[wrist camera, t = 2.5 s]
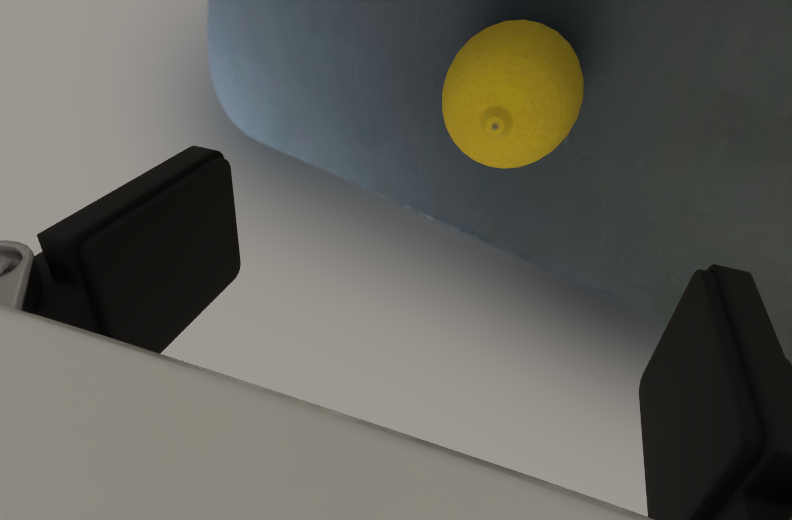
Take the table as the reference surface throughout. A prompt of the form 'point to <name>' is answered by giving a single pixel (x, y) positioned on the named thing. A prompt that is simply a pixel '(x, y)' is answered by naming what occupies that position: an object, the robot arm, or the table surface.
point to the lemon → (512, 93)
